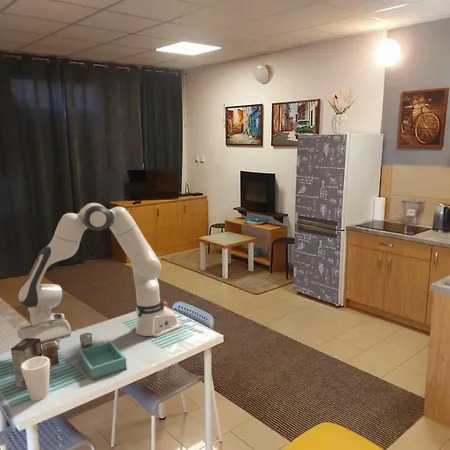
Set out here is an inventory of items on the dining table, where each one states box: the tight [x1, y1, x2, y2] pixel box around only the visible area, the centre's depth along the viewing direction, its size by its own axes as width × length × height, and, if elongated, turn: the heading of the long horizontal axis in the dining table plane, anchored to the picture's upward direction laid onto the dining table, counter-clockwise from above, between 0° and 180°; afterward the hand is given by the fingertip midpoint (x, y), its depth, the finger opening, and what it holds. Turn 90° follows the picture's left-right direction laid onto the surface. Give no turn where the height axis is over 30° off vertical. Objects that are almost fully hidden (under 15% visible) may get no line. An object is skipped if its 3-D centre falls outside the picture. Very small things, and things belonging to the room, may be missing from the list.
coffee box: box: [10, 338, 43, 389], centre depth 161 cm, size 9×6×16 cm
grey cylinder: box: [79, 332, 94, 350], centre depth 183 cm, size 5×5×8 cm
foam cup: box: [21, 355, 51, 402], centre depth 152 cm, size 10×9×13 cm
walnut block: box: [41, 341, 60, 367], centre depth 175 cm, size 5×5×8 cm
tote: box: [77, 340, 128, 381], centre depth 172 cm, size 14×18×5 cm
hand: (50, 351), depth 175 cm, fingers closed on walnut block, 5 cm apart
